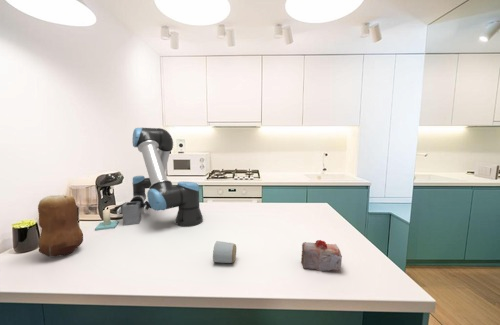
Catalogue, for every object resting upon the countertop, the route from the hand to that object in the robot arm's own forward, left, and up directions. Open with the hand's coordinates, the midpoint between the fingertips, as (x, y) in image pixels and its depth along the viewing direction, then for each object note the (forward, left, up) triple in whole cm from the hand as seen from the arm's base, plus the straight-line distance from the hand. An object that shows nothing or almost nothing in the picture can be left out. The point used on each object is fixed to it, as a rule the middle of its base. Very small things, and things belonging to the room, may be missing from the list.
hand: (131, 211), depth 123 cm
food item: (-74, +73, -7) cm, 104 cm away
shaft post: (+12, +2, -6) cm, 13 cm away
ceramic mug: (-42, +56, -7) cm, 70 cm away
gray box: (0, 0, -6) cm, 6 cm away
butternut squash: (+21, +30, -7) cm, 37 cm away
